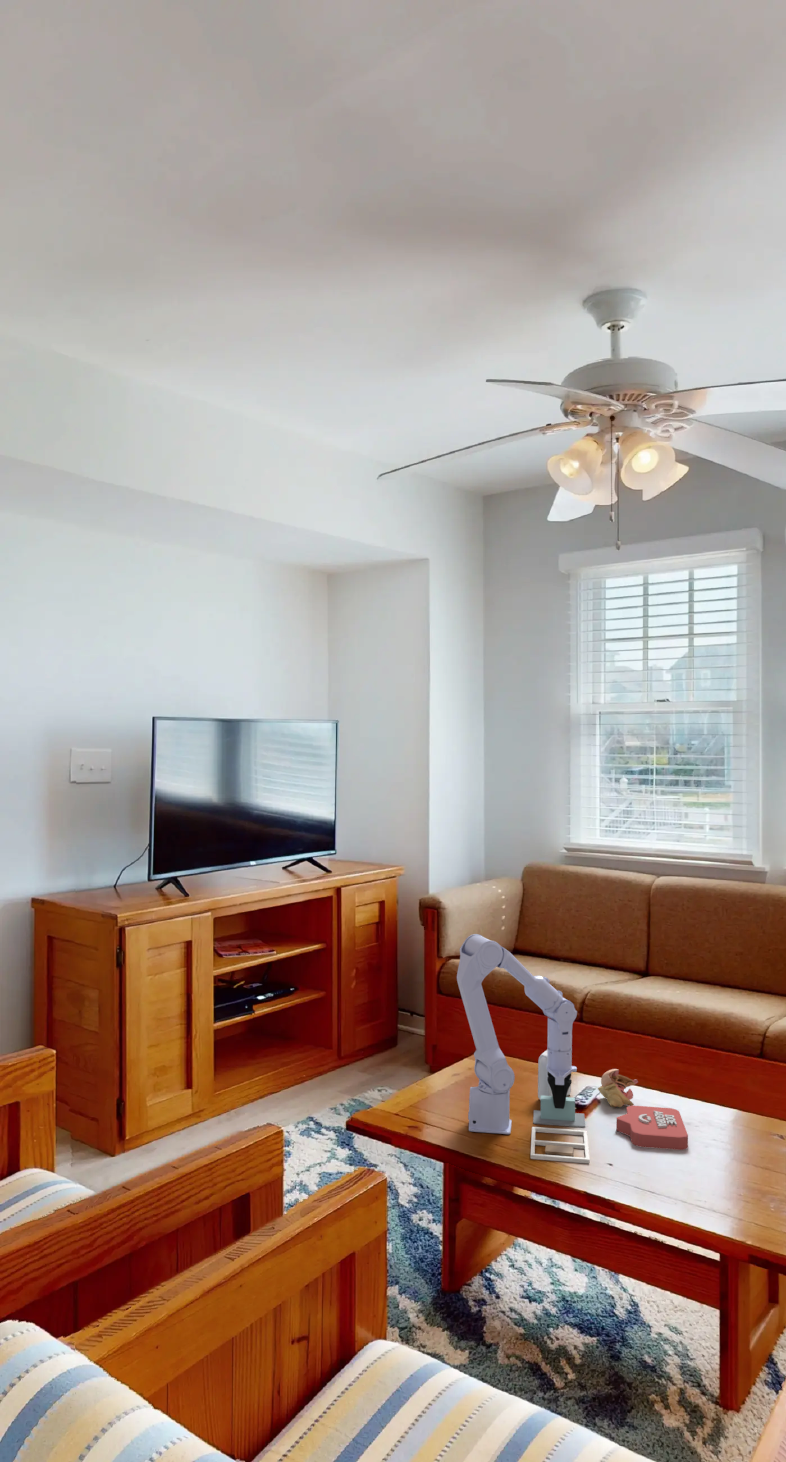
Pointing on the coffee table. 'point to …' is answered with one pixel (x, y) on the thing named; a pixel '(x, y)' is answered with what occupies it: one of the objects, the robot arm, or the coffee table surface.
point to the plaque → (654, 1127)
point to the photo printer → (545, 1077)
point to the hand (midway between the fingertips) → (559, 1105)
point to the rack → (560, 1158)
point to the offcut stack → (559, 1150)
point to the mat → (577, 1123)
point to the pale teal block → (554, 1113)
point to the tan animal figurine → (616, 1088)
